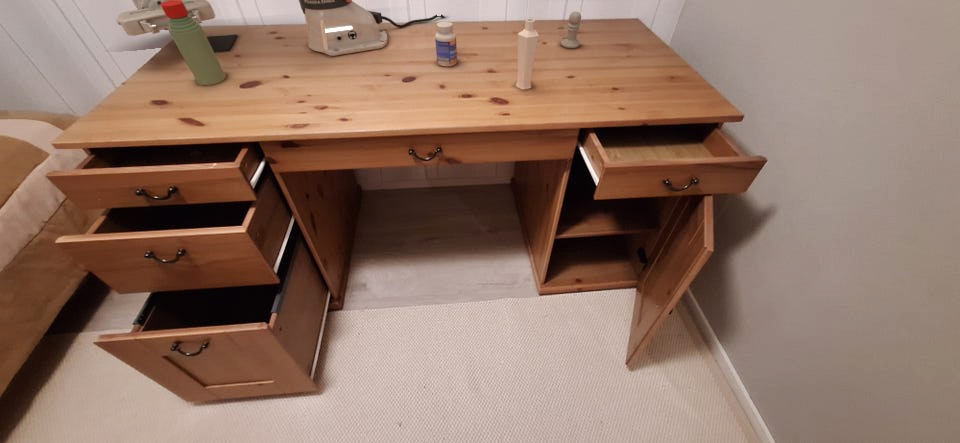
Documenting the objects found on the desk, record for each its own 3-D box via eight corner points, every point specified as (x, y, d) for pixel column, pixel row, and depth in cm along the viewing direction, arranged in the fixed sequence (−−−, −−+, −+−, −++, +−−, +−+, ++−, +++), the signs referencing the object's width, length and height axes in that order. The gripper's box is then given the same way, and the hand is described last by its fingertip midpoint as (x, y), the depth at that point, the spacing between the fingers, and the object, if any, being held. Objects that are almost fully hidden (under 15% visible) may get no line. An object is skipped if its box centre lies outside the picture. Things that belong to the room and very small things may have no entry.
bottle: (228, 72, 97) (193, -1, 85) (222, 83, 92) (184, 9, 80) (201, 74, 96) (161, 1, 84) (194, 86, 91) (151, 11, 79)
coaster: (237, 36, 113) (236, 34, 113) (229, 51, 106) (228, 48, 105) (197, 39, 112) (196, 37, 111) (186, 54, 104) (185, 52, 104)
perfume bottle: (512, 81, 94) (517, 16, 83) (530, 81, 94) (537, 16, 83) (515, 90, 91) (520, 24, 80) (533, 90, 91) (541, 23, 80)
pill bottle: (454, 67, 99) (452, 28, 92) (434, 66, 100) (431, 27, 93) (459, 59, 103) (457, 21, 96) (440, 57, 104) (437, 19, 97)
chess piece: (582, 44, 111) (588, 11, 104) (574, 50, 108) (580, 16, 101) (565, 40, 113) (571, 7, 106) (557, 46, 110) (562, 12, 103)
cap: (191, 11, 85) (184, -1, 83) (185, 17, 82) (179, 5, 81) (170, 12, 84) (164, 0, 83) (164, 19, 82) (157, 6, 80)
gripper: (106, 5, 92) (117, 20, 85) (197, -11, 102) (214, 1, 95) (123, 33, 97) (135, 49, 90) (209, 14, 106) (226, 28, 99)
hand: (176, 24), depth 92 cm, fingers open, 8 cm apart
